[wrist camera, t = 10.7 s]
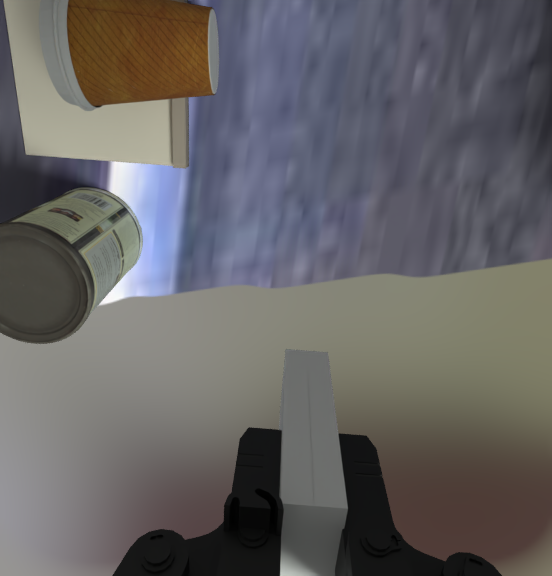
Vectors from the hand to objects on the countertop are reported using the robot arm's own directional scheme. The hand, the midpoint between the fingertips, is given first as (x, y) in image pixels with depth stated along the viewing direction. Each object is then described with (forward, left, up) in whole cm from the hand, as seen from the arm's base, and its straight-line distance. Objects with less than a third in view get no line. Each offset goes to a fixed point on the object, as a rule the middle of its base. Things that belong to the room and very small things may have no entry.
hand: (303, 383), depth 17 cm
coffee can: (+21, +6, -33) cm, 39 cm away
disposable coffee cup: (+8, -12, -28) cm, 31 cm away
